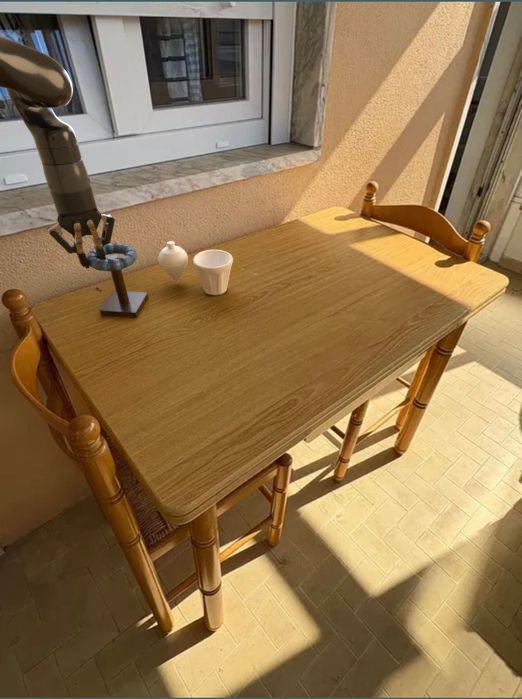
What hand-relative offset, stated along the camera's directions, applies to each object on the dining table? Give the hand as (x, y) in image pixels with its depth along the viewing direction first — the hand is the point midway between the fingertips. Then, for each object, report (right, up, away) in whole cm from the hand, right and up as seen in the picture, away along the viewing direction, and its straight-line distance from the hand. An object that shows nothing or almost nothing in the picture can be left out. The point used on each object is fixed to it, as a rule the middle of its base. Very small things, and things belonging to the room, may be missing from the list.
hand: (94, 264), depth 85 cm
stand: (+3, -8, +10) cm, 14 cm away
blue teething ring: (+3, +2, +1) cm, 4 cm away
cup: (+25, -3, +17) cm, 30 cm away
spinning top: (+14, -1, +19) cm, 24 cm away
